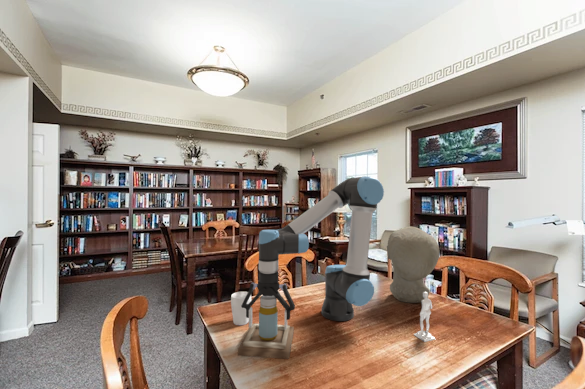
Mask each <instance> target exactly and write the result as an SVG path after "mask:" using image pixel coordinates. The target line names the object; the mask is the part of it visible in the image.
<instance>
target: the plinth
mask: <svg viewBox="0 0 585 389" xmlns="http://www.w3.org/2000/svg"><path fill="white" fill-rule="evenodd" d="M294 327H295V326H290V325H288V324H287V329H286V330H285V329H284V324H277V337H276V338H275V339H274V340H271V341H264V340H262V339H261V338H260V337H259V323H254V322H252V326H251V328H249V327H248V328H247V331H246V332H245V334H244V336H243V338H242V339H241V342H240V344H239V345H238V347H237V356H241V357H256V358H258V357H259V358H271V359H287V360H288V359H290V355H291V349H292V344H293V338H294V333H295V332H294V331H295V329H294Z"/></svg>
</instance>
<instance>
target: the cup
mask: <svg viewBox="0 0 585 389" xmlns="http://www.w3.org/2000/svg"><path fill="white" fill-rule="evenodd" d="M248 292H249V291H237V292H233V293H232V294H231V297H230V306H231V314H232V322H233V324H234V325H236V326H245V325H247V324H249V318H247V317H246V309H245V308H242V307H241V305H242V303H243V301H244V299H245V298H246V296H247V294H248ZM252 299H253V298H252V294H251V295H250V297H249V299H248V301H247V303H246V304H249V303H250V302H251V301H252Z"/></svg>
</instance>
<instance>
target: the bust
mask: <svg viewBox="0 0 585 389" xmlns="http://www.w3.org/2000/svg"><path fill="white" fill-rule="evenodd" d="M386 252H387V254H386V255H387V259H388V260H390V261H391V264H392V268H393V275H392V276H393V279H392V282H391V283H390V285H389V291H390V293H391V294H392V296H393V297H394V298H395V299H396V300H398V301H400V302H402V303H407V304H418V303H421V302H422V300H423V299H424V297H423V292H427V293H428V297H427V298H428V299H429V295H430V292H431V291H430V289H429V288H428V287H427V285H426V284H425V283H424V279H425V278H427V277H428V275H430V274H431V273H432V272H433V271H434V269H435V268H436V266H437V264H438V261H439V258H440V246H439V243H438V242H437V240H436V239H435V237H433V236H432V235H431V234H429V233H428V232H426V231H424V230H423V229H421V228H418V227H416V226H411V225H410V226H406V227H403V228H399V229H396V230H395V231H393V232H392V233H390V235H389V237H388V241H387V245H386Z"/></svg>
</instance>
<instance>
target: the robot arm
mask: <svg viewBox="0 0 585 389" xmlns="http://www.w3.org/2000/svg"><path fill="white" fill-rule="evenodd" d="M384 193H385V191H384V186H383V184H382V183H381V181H380V180H379V179H378V178H376V177H374V176H365V175H363V176H358V177H349V178H347V179H345V180H343V181H342V182H340V183H339V184H337V185H336V186H335V187H333V188H331V190H329V191H328V194H327V195H326V196H325V197H324V198H321V200H320V201H318V202H317V203H316V204H314V205H312V206H311V207H310V208H308V209H307V210H306V211H304V212H303V213H301V215H299V216H298V217H296V218H295V219H293V220H292V221H291V222H289V223H288V224H287V225H285V226H283V227H282V228H279V229H262V230H260V231H259V234H258V279H257V280H258V282H257V283H256V282H254V281H252V282H251V283H250V285H249V289H248V291H247V292H248V294H247V296H246V298H245V299H244V301H243V303H242V305H241V307H242V308H245V309H246V317H247V318H249V322H248V328H251V326H252V325H253V307H252V306H253V305H254V304H255V302H257V301H258V299H260V297H261V296H262V295H264V296H273V295H274V296H275V298H277V301H278V302H279V303H280V305H282V307H283V308H284V324H283V325H284V329H285V330H286V329H287V325H288V321H290V319H291V311H294V310H295V309H296V308H295V307H296V305H295V302H294V301H293V299H292V295H291V294H290V292H289V290H288V286H287V285H288V284H287V283H286V282H284V283H283V284H279V258H280V257H279V255H293V254H304V253H307V251H308V250H309V247H310V244H309V243H310V241H309V237H308V236H307V235H306V234H305V233H307V232H308V231H310V230H311V229H312V228H313V227H315V226H316V225H318V224H319V223H320V222H321V221H323V220H324V219H325V218H326V217H329V215H331V214H333V212H334V211H336V210H337V209H342V208H343V207H345V206H347V205H348V207H349V208H350V209H351V219H350V227H349V238H348V239H349V240H348V247H347V256H346V264H331V265H327V266H326V268H325V271H324V272H325V273H324V274H325V276H324V278H325V279H324V280H325V281H324V282H325V285H324V286H325V290H324V293H325V296H324V299H323V303H322V305H321V312H320V313H321V316H322V317H324V318H325V319H327V320H330V321H334V322H335V321H336V322H346V321H350V320H352V319H353V318H354V316H355V312H354V306H356V307H362V306H366V305H367V304H368V303H369V302H370V301H371V300H372V299H373V297H374V293H375V286H374V284H373V282H372V281H370V276H371V274H370V271H369V269H368V261H369V251H370V250H369V249H370V240H371V231H372V220H373V213H374V212H375V211H376V210H377V209H378V208H377V207H378V204H379V203H380V202H381V201H383V198H384V195H385V194H384ZM255 289H257V290H258V292H257V294H256V295H255V296H254V297H253V298H251V299H252V301H251V302H250V303H249V304H246V303H247V301H248V299H249V297H250V295H251V296H252V293H253V292H254V290H255ZM279 289H280V290H281V291H282V293H283V295H284V296H285V298H286V300H285V299H284V297H283V296H282V294H280V292H279Z"/></svg>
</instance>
